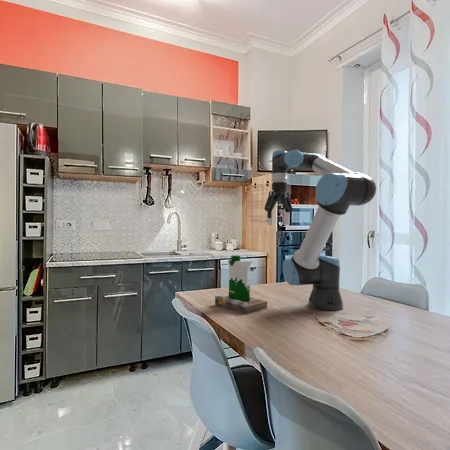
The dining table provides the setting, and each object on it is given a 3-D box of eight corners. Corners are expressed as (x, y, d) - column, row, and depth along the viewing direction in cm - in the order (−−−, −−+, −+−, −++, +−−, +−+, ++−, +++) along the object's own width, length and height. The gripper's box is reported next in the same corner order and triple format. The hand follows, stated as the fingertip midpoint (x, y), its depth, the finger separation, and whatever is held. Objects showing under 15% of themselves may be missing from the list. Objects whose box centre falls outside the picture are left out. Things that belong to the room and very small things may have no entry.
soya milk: (225, 299, 148) (226, 255, 148) (242, 297, 153) (243, 254, 152) (235, 303, 141) (236, 257, 140) (253, 301, 145) (253, 256, 145)
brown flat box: (267, 308, 145) (267, 298, 145) (244, 314, 135) (244, 303, 135) (236, 300, 159) (236, 291, 159) (214, 305, 149) (214, 295, 149)
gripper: (269, 179, 152) (269, 225, 153) (299, 183, 170) (299, 225, 170) (257, 180, 158) (256, 224, 158) (287, 184, 175) (287, 224, 176)
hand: (278, 225), depth 164 cm, fingers open, 13 cm apart
